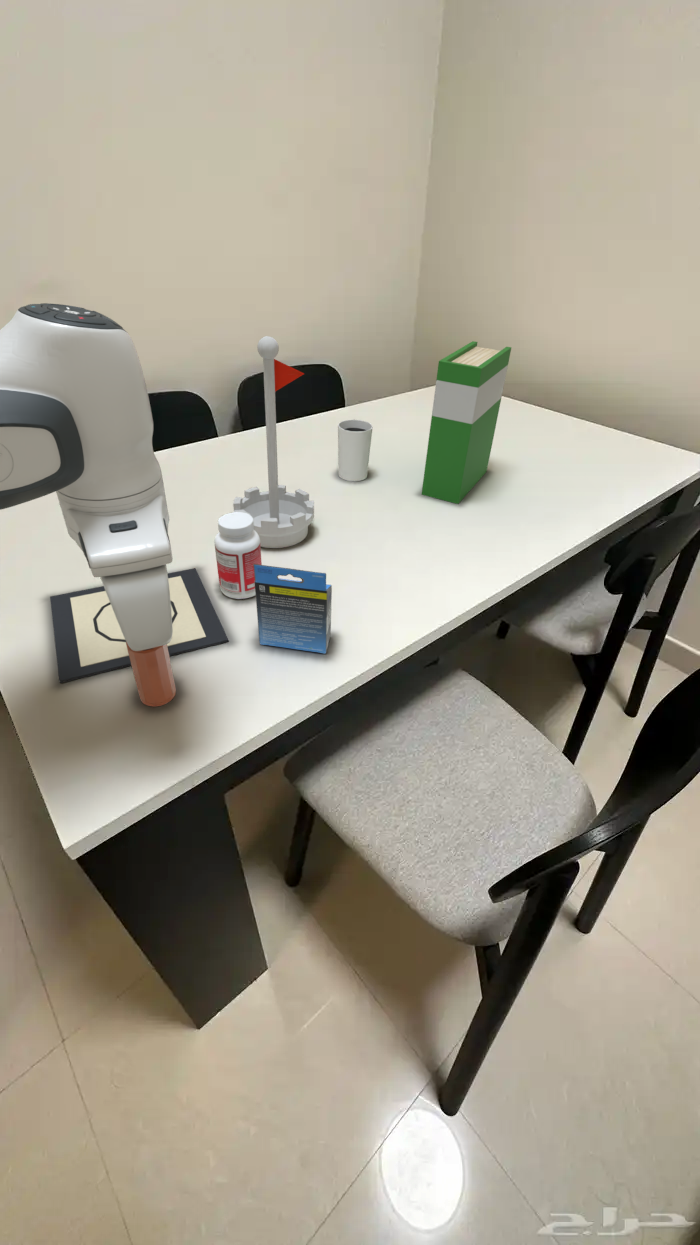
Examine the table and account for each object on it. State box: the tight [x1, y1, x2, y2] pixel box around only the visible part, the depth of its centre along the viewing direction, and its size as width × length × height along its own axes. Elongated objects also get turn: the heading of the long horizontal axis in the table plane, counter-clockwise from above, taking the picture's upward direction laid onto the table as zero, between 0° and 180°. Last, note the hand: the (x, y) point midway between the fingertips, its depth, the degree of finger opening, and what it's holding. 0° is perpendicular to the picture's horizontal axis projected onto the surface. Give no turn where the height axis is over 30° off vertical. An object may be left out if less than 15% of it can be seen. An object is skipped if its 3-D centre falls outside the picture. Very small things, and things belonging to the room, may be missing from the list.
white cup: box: [337, 419, 374, 482], centre depth 113 cm, size 7×7×10 cm
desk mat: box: [49, 567, 229, 684], centre depth 77 cm, size 20×18×1 cm
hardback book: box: [421, 340, 512, 505], centre depth 108 cm, size 18×7×24 cm, turn 152°
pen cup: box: [126, 642, 177, 708], centre depth 64 cm, size 4×4×8 cm
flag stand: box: [232, 335, 315, 549], centre depth 88 cm, size 13×13×30 cm
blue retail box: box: [253, 564, 333, 654], centre depth 71 cm, size 9×4×12 cm, turn 81°
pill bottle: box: [213, 511, 263, 600], centre depth 81 cm, size 6×6×11 cm
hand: (143, 627), depth 61 cm, fingers open, 3 cm apart
